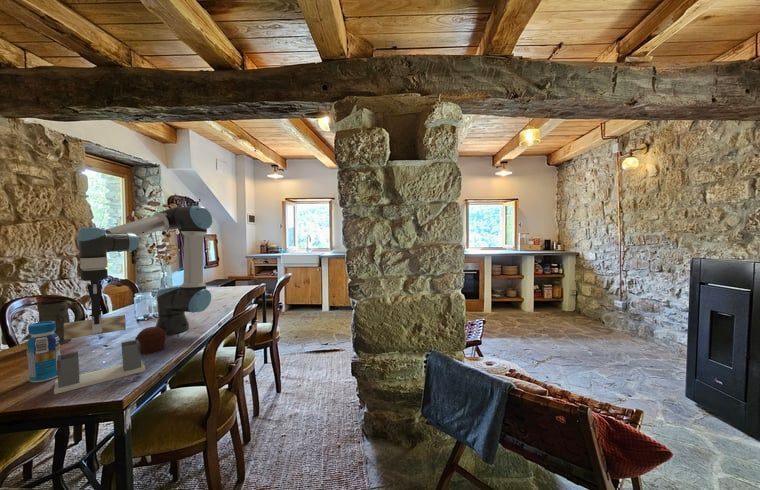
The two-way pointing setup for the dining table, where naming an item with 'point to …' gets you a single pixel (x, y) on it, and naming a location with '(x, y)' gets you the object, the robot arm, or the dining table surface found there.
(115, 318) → the rail
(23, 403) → the dining table surface
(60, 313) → the beer stein
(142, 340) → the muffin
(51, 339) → the beverage bottle
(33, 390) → the dining table surface
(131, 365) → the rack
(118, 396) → the dining table surface
